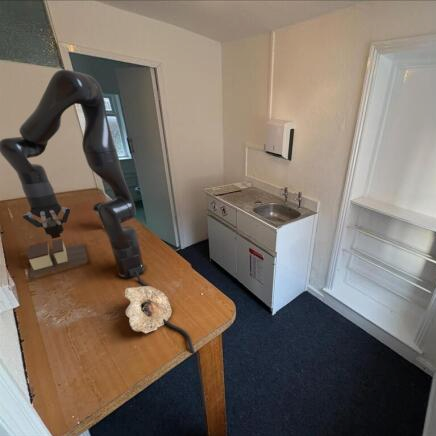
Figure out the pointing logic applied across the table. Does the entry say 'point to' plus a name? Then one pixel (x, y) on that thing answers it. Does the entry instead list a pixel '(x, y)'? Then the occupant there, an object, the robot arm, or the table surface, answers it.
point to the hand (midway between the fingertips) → (55, 233)
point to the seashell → (147, 308)
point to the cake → (40, 255)
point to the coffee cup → (97, 212)
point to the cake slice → (59, 251)
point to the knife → (53, 228)
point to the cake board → (74, 257)
